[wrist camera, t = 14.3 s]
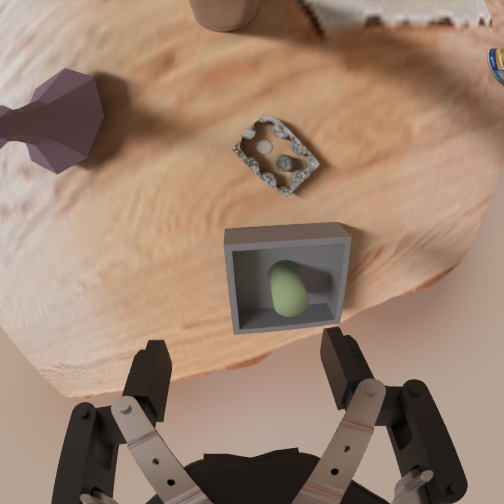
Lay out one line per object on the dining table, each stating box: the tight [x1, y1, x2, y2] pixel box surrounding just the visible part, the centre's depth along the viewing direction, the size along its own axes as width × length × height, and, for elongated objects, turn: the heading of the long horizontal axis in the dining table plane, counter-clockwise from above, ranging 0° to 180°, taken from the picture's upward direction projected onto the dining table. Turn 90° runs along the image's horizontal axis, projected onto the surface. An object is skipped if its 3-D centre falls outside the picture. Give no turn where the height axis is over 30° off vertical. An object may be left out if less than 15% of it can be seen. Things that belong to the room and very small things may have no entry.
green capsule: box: [269, 260, 309, 317], centre depth 41 cm, size 5×5×8 cm
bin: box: [224, 222, 352, 335], centre depth 43 cm, size 16×18×6 cm
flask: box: [0, 68, 104, 174], centre depth 23 cm, size 16×16×20 cm
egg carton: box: [232, 115, 320, 197], centre depth 36 cm, size 11×8×4 cm
